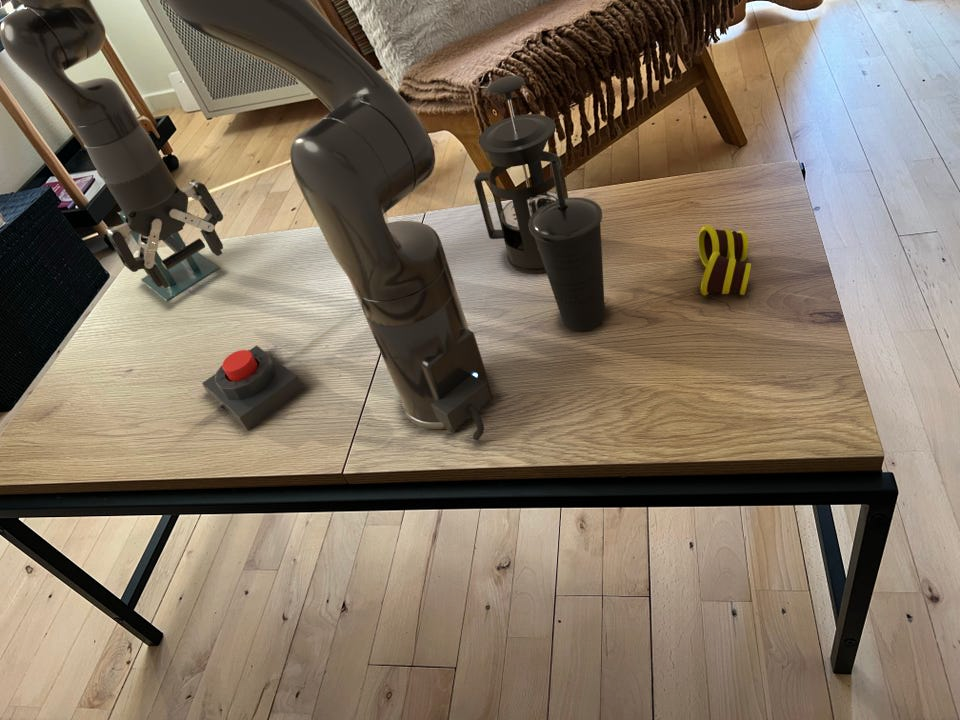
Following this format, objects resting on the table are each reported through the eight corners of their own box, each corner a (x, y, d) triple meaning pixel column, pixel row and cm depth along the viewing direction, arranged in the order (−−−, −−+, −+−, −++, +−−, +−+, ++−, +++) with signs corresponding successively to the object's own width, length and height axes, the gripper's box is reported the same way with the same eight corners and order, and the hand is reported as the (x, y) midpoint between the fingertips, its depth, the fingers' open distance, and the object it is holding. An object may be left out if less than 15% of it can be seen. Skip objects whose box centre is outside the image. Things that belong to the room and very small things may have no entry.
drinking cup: (584, 349, 85) (552, 191, 72) (537, 323, 90) (500, 171, 77) (632, 312, 88) (609, 153, 75) (584, 289, 93) (555, 136, 80)
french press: (589, 228, 102) (559, 56, 87) (578, 272, 96) (544, 94, 81) (503, 233, 106) (461, 70, 91) (487, 276, 100) (439, 107, 85)
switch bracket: (222, 273, 116) (181, 199, 108) (170, 306, 113) (123, 233, 104) (194, 254, 123) (153, 183, 115) (144, 285, 119) (98, 214, 111)
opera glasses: (747, 307, 85) (756, 270, 82) (697, 303, 86) (704, 267, 82) (740, 255, 92) (749, 219, 89) (695, 252, 93) (701, 216, 89)
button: (263, 367, 90) (257, 356, 89) (237, 386, 89) (230, 375, 88) (249, 356, 93) (242, 345, 92) (223, 374, 91) (216, 363, 90)
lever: (207, 251, 108) (202, 239, 106) (170, 274, 106) (163, 262, 104) (162, 209, 113) (156, 196, 111) (125, 230, 111) (118, 218, 109)
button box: (304, 389, 91) (291, 364, 89) (247, 431, 88) (232, 406, 86) (263, 358, 98) (250, 334, 95) (209, 395, 95) (194, 372, 92)
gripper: (89, 201, 92) (157, 306, 103) (192, 144, 98) (247, 250, 109) (69, 186, 97) (136, 288, 108) (168, 134, 103) (223, 235, 113)
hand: (191, 269), depth 108 cm, fingers open, 8 cm apart
